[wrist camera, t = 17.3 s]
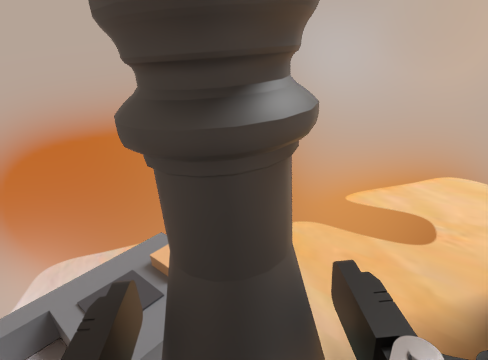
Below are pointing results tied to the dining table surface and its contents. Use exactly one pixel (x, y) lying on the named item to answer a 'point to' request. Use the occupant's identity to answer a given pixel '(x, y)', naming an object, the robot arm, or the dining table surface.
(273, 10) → the candle holder
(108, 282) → the grey compartment tray
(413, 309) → the dining table surface
